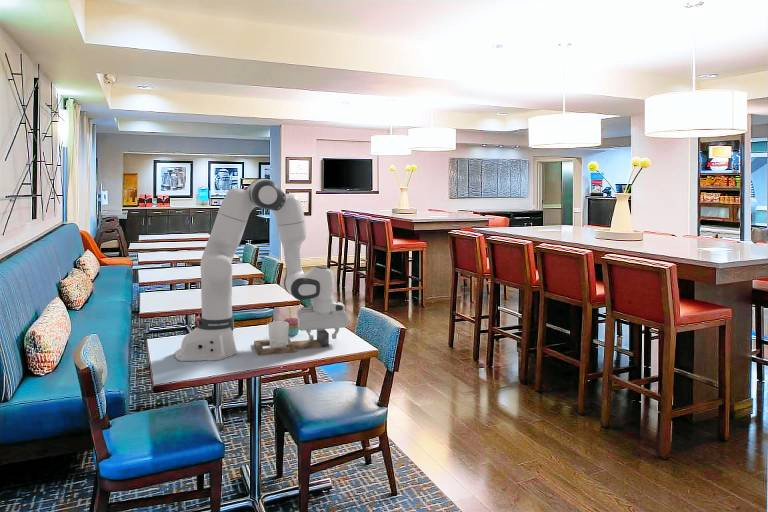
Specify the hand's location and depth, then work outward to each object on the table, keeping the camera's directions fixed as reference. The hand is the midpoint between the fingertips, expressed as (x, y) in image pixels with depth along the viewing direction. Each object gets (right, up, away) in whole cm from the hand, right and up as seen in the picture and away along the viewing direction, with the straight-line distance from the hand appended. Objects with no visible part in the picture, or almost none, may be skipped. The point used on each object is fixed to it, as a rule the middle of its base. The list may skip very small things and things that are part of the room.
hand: (322, 339), depth 234 cm
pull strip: (-11, -2, -4) cm, 12 cm away
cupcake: (-14, 0, +14) cm, 20 cm away
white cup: (-17, -3, -6) cm, 18 cm away
